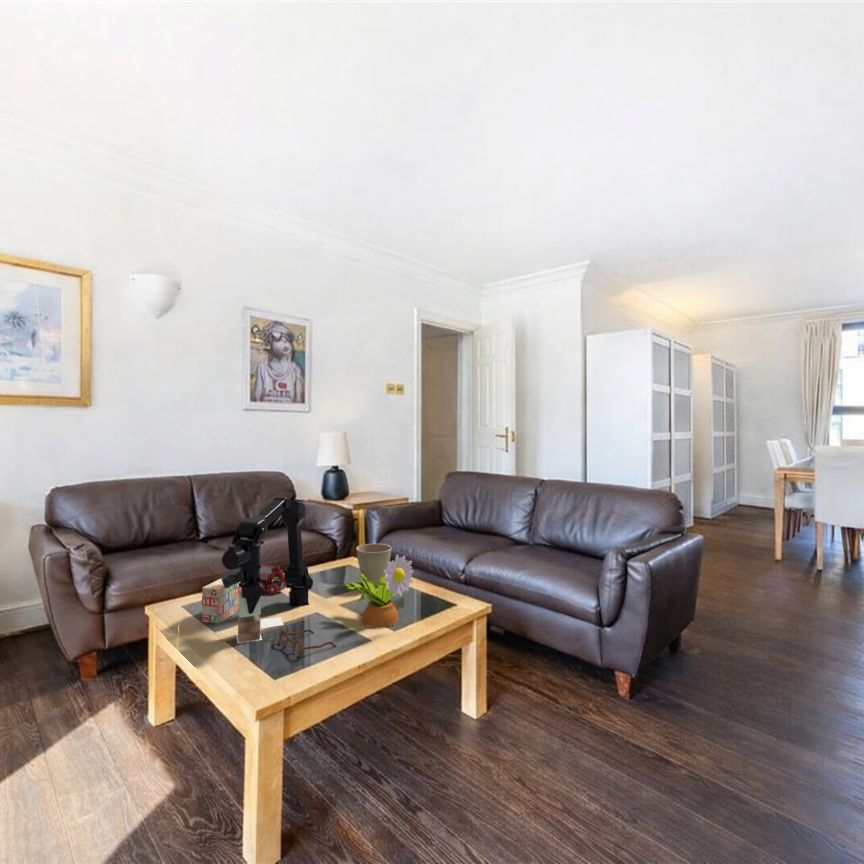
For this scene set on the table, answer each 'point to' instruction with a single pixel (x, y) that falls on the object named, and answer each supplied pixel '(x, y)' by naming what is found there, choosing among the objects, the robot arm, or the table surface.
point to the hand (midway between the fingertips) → (249, 609)
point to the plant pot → (373, 560)
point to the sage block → (244, 609)
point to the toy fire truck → (272, 578)
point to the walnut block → (248, 628)
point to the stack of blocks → (219, 601)
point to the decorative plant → (384, 593)
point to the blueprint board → (265, 624)
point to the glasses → (300, 641)
